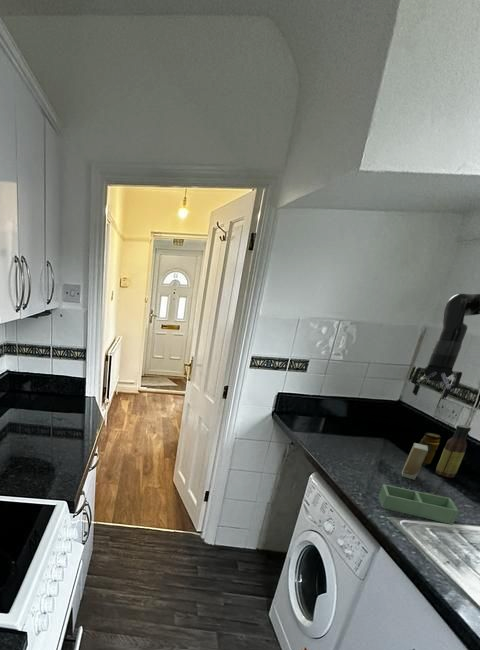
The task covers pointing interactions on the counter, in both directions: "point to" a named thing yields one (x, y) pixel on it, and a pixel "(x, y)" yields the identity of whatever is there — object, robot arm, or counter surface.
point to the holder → (418, 504)
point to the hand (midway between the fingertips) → (428, 396)
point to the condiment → (430, 446)
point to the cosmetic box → (414, 461)
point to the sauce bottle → (453, 452)
